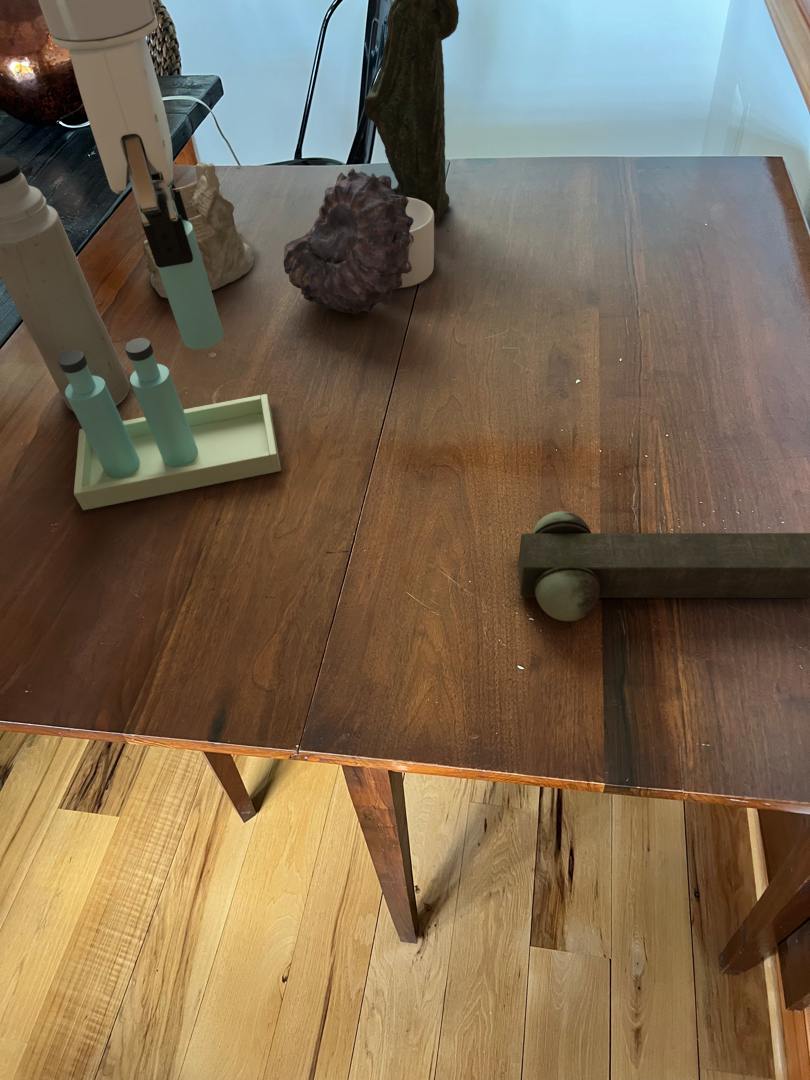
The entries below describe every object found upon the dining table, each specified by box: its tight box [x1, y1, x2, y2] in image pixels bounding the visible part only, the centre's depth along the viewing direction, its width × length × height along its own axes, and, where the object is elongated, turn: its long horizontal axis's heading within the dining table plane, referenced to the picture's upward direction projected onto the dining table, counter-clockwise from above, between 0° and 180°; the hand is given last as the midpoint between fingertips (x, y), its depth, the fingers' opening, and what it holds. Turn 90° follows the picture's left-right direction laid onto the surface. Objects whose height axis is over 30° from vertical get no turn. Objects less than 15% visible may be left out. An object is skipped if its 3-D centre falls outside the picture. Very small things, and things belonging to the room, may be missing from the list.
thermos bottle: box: [0, 156, 131, 412], centre depth 85 cm, size 8×8×28 cm
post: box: [517, 510, 810, 622], centre depth 70 cm, size 11×6×30 cm
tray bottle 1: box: [58, 350, 140, 478], centre depth 81 cm, size 4×4×15 cm
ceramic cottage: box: [142, 161, 255, 299], centre depth 109 cm, size 16×16×15 cm
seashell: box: [283, 168, 414, 315], centre depth 98 cm, size 20×13×15 cm
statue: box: [363, 0, 460, 226], centre depth 108 cm, size 15×10×35 cm, turn 83°
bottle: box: [155, 184, 224, 350], centre depth 70 cm, size 4×4×15 cm
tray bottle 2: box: [124, 337, 198, 467], centre depth 81 cm, size 4×4×15 cm
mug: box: [398, 197, 435, 289], centre depth 108 cm, size 13×10×8 cm
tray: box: [73, 393, 282, 511], centre depth 86 cm, size 22×11×3 cm, turn 102°
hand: (174, 247), depth 68 cm, fingers closed on bottle, 4 cm apart
